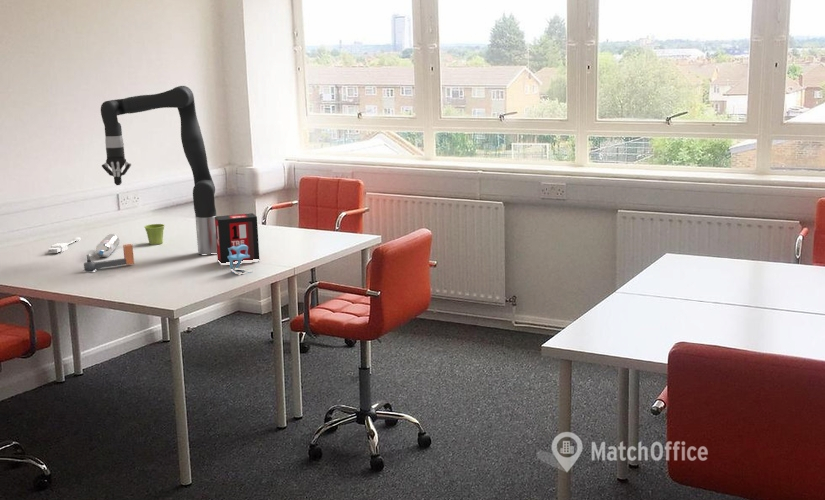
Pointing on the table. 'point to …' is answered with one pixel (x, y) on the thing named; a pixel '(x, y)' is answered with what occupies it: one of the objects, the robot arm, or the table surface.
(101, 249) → the water bottle
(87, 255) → the pivot base
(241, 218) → the black and red box
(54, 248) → the charging cable
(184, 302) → the table surface
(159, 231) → the plant pot
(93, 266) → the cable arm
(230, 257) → the chair
